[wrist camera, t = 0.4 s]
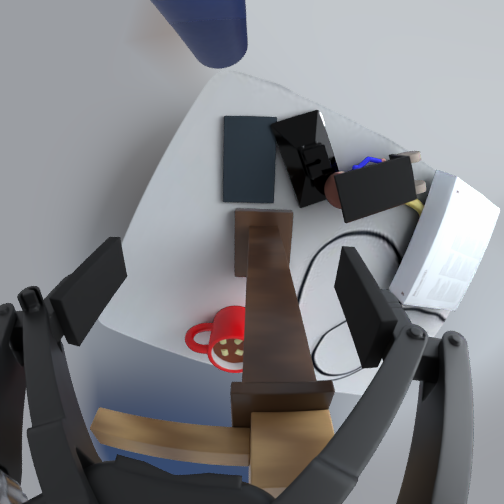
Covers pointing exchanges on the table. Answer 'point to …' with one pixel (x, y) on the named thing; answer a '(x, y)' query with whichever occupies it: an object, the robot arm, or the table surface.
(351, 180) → the figurine character
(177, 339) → the table surface
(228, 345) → the mug
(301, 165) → the black angular block
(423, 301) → the skincare box
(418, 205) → the banana
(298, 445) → the wooden toy mallet
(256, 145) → the mat
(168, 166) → the table surface
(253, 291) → the stand
